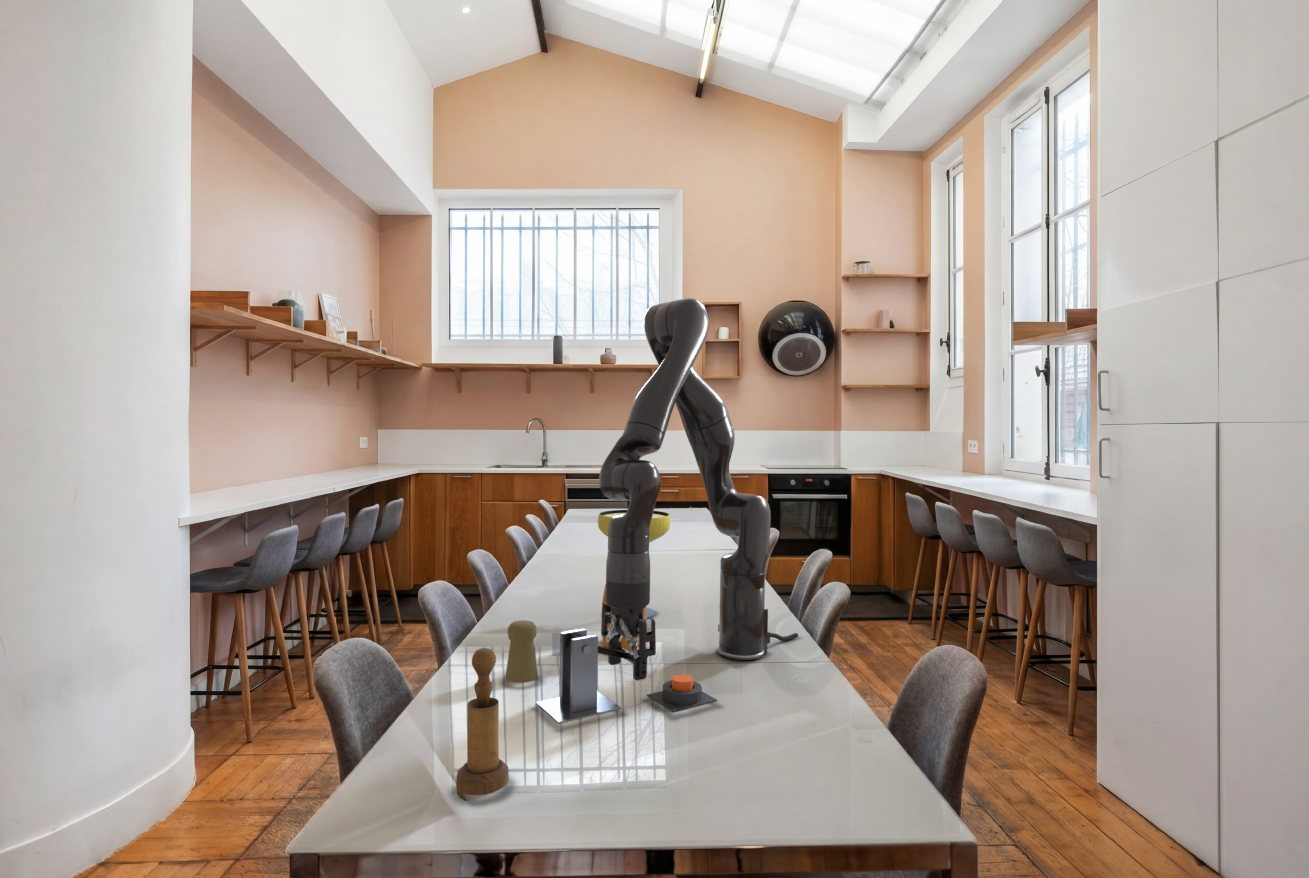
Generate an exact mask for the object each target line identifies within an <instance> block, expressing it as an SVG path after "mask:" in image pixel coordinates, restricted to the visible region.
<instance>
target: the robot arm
mask: <svg viewBox="0 0 1309 878" xmlns="http://www.w3.org/2000/svg"><path fill="white" fill-rule="evenodd" d="M709 327H710V319H709V314H708V311H707V309H706V307H705V306H704V304H703V303H702V302H701V301H699V300H698V299H696V298H691V297H689V298H681V299H676V300H675V299H674V300H670V301H666V302H661V303H657V304H654V305H651V306H650V307H649V308H648V309H647V310H646V312H645V315H644V317H643V329H644V333H645V337H646V340H647V343H648V346H649V348H650V350H651V352H652V354H653V357H654V358H655V360H656V362H657V364H658V368H657V369H656V370H655V372H654V373H653V374H652V376H651V377H650V378H649V379H648V380H647V381H646V383H645V384H644V385H643V387H641V389H640V391H639V392H638V393H637V395H636V397H635V398H634V401H633V403H632V406H631V408H630V412H629V414H628V418H627V420H626V424H625V427H624V430H623V431H622V434H621V435H620V437H619V438H618V440H617V441H616V442H615V444H614V446H613V447H612V449H611V450H610V451H609V453H608V455H607V456H606V458H605V459H604V461H603V463H602V465H601V468H600V472H599V475H598V476H599V477H598V483H599V488H600V491H601V493H602V494H603V496H605V497H606V498H608V499H611V500H615V501H626V502H629V504H628V508H627V509H626V510H627V512H626V514H620V515H616V516H614V517H612V518H611V519H610V521H609V526H608V536H607V555H606V563H605V585H606V603H603V605H602V604H601V614H602V618H601V627H600V634H601V636H606V641H607V643H608V648H611V649H617V648H618V647H620V646H621V642H619V641H620V640H621V638H622V636H623V637H624V638H626V641H627V644H628V645H629V646H631V648H632V651H631V652H632V653H633V655H634V657H633V664H632V666H633V667H632V678H633V679H634V680H635V681H642V680H645V679H646V678H647V676H648V657H653V656H656V653H657V647H656V646H657V645H656V643H657V641H656V638H657V637H656V620H655V618H653V617H651V618H647V619H645V617H644V612H643V609H644V608H645V607H646V608H647V606H648V605H649V604H650V602H651V557H650V543H649V528H650V523H651V519H652V516H653V512H654V511H655V508H656V504H657V501H658V497H659V494H660V489H661V475H660V472H659V469H658V468H657V466H656V465H655V464H654V463H653V462H652V461H650V460H645V459H642V458H643V457H644V456H647V455H648V456H649V455H652V454H654V453H657V452H658V451H659V450H661V447H662V445H663V442H664V438H665V436H666V433H667V429H668V427H669V423H670V419H671V416H672V412H673V410H674V407H675V406H676V408H677V411H678V414H679V417H680V420H681V423H682V426H683V429H684V431H685V432H684V433H685V435H686V438H687V440H688V443H689V445H690V448H691V450H692V453H693V455H694V459H695V462H696V465H697V466H698V471H699V474H700V477H701V480H702V483H703V486H704V491H705V494H706V499H707V504H708V507H709V512H710V515H711V518H712V521H713V524H714V526H715V528H716V529H717V530H718V532H719V533H720V534H722V535H724V536H727V537H733V538H738V544H737V549H736V550H735V551H733V552H730V553H726V554H724V555H722V556H721V557H720V562H719V563H720V564H719V565H720V566H719V569H720V570H719V571H720V572H719V616H718V617H719V624H718V625H717V626H718V627H717V629H718V630H717V631H718V648H717V649H718V651H717V652H718V654H719V655H720V656H722V657H724V658H726V659H731V660H736V661H752V660H758V659H761V658H762V657H764V655H766V654H768V644H771V638H773V639H777V640H778V641H781V642H787V641H791V640H793V639H795V638H798V637H799V634H798V633H797V632H794V633H791V634H789V635H786V636H782V635H781V634H779V633H775V632H770V631H769V608H768V607H767V606H765V599H766V598H765V595H766V594H765V593H766V592H765V591H766V585H765V584H766V565H767V561H768V558H769V552H770V538H771V537H770V536H771V526H772V524H771V523H772V514H771V508H770V505H769V502H768V500H767V499H766V498H765V496H762V495H759V494H754V493H753V494H752V493H744V492H738V491H737V489H736V488H735V485H734V482H733V480H732V476H731V473H730V462H731V460H732V459H731V458H732V455H733V451H734V446H735V441H736V436H735V435H736V433H735V428H734V426H733V422H732V420H731V416H730V414H729V411H728V408H727V406H726V404H725V402H724V400H723V399H722V398H721V396H720V395H719V393H717V391H715V390H714V389H713V388H712V387H711V386H710V385H709V384H708V383H707V382H706V381H705V380H704V379H703V378H702V377H701V376H700V375H699V374H698V373H697V371H696V370H695V369H694V364H695V363H696V361H697V358H698V356H699V354H700V352H701V350H702V348H703V346H704V344H705V341H706V339H707V336H708V334H709V333H708V332H709ZM608 623H610V625H609V627H608V629H607V624H608ZM638 635H639V638H635V637H637V636H638ZM648 643H649V644H648ZM637 644H639V650H638V647H637ZM607 657H608V658H607V663H608V664H609V665H610V666H614V665H615V666H616V665H619V664H621V662H622V658H619V657H614V656H610V655H607Z"/></svg>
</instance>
